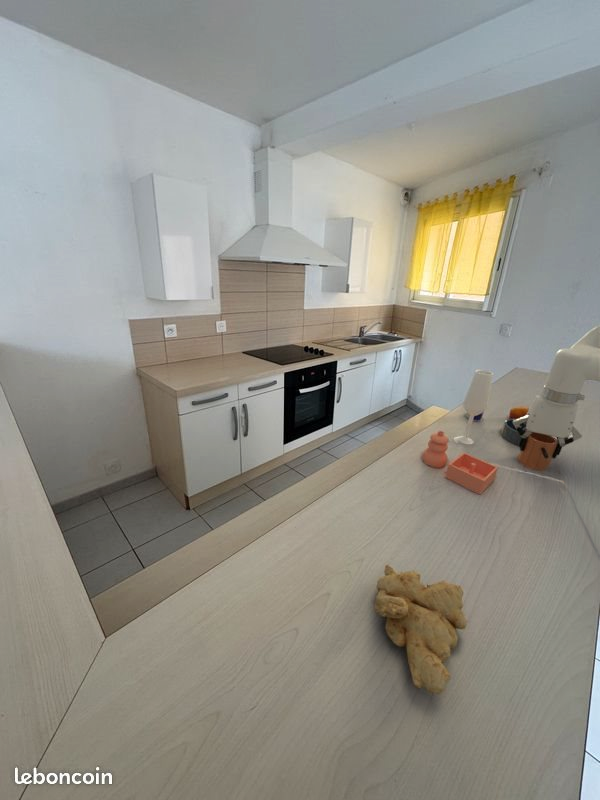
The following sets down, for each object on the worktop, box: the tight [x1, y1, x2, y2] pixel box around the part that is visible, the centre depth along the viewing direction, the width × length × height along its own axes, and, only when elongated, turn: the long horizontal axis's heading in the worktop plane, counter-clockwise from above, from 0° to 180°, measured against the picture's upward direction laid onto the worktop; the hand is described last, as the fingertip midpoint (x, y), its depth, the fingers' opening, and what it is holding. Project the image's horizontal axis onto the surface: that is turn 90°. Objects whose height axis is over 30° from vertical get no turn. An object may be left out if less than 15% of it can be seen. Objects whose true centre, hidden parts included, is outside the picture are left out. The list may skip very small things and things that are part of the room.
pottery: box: [422, 430, 499, 495], centre depth 88 cm, size 18×10×10 cm, turn 42°
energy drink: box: [465, 411, 485, 423], centre depth 119 cm, size 5×5×12 cm
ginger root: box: [374, 564, 467, 695], centre depth 49 cm, size 16×16×8 cm
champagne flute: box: [453, 369, 494, 445], centre depth 101 cm, size 7×7×24 cm
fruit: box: [508, 405, 530, 419], centre depth 119 cm, size 8×8×8 cm
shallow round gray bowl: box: [500, 418, 526, 447], centre depth 107 cm, size 13×13×5 cm
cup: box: [517, 432, 558, 472], centre depth 91 cm, size 7×12×9 cm, turn 155°
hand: (536, 451), depth 93 cm, fingers closed on cup, 7 cm apart
